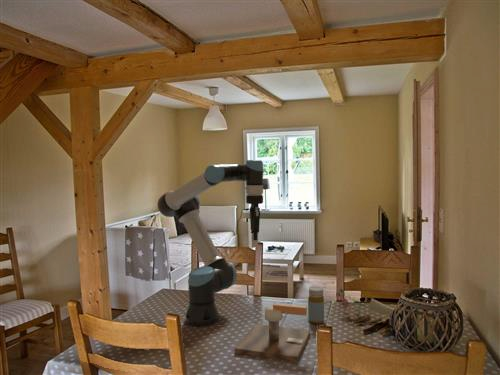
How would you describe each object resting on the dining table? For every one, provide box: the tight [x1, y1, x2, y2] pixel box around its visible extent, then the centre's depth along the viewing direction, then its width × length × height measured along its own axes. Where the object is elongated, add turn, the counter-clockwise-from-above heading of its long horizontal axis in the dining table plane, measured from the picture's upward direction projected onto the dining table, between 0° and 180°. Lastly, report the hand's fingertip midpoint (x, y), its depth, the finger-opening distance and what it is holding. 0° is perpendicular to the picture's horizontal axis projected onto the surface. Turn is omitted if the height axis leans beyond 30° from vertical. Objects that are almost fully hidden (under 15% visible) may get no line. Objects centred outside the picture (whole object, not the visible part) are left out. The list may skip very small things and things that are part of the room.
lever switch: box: [264, 302, 308, 322], centre depth 157 cm, size 16×7×6 cm, turn 72°
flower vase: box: [335, 286, 395, 318], centre depth 183 cm, size 12×12×35 cm
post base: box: [234, 321, 311, 363], centre depth 159 cm, size 24×24×10 cm
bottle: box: [307, 286, 325, 325], centre depth 180 cm, size 7×7×15 cm
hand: (254, 246), depth 181 cm, fingers closed
